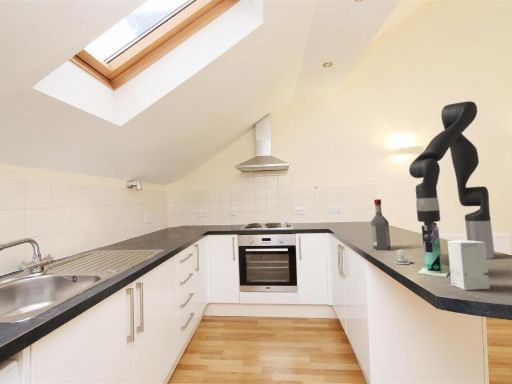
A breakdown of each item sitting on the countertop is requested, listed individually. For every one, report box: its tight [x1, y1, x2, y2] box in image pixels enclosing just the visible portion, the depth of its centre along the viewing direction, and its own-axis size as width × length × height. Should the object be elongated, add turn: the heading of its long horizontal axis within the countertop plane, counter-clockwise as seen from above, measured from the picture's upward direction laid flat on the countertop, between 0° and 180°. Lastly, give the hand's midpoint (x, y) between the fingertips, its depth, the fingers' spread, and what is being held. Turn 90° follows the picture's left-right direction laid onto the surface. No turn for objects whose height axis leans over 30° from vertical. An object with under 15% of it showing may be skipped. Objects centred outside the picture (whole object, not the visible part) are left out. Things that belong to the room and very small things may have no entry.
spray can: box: [422, 223, 443, 273], centre depth 100 cm, size 6×6×20 cm
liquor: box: [370, 198, 392, 251], centre depth 153 cm, size 9×9×30 cm
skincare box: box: [446, 240, 491, 291], centre depth 83 cm, size 8×6×15 cm
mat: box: [417, 267, 450, 278], centre depth 100 cm, size 9×9×1 cm
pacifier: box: [392, 249, 411, 265], centre depth 117 cm, size 7×6×6 cm
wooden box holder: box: [441, 252, 450, 271], centre depth 106 cm, size 10×10×5 cm
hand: (431, 250), depth 100 cm, fingers open, 8 cm apart
